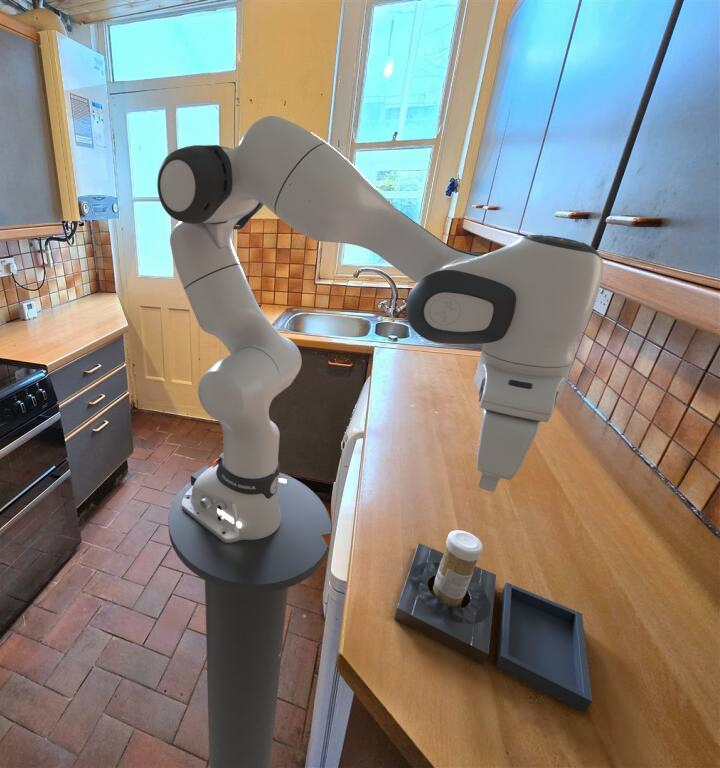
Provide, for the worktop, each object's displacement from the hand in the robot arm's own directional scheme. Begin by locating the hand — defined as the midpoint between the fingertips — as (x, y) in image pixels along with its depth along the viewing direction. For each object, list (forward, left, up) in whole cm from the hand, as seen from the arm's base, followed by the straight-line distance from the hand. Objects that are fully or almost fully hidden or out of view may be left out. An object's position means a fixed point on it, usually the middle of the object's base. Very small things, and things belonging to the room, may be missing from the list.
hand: (489, 468), depth 55 cm
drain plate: (0, 0, -26) cm, 26 cm away
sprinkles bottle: (0, 0, -27) cm, 27 cm away
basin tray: (+12, 0, -26) cm, 29 cm away
